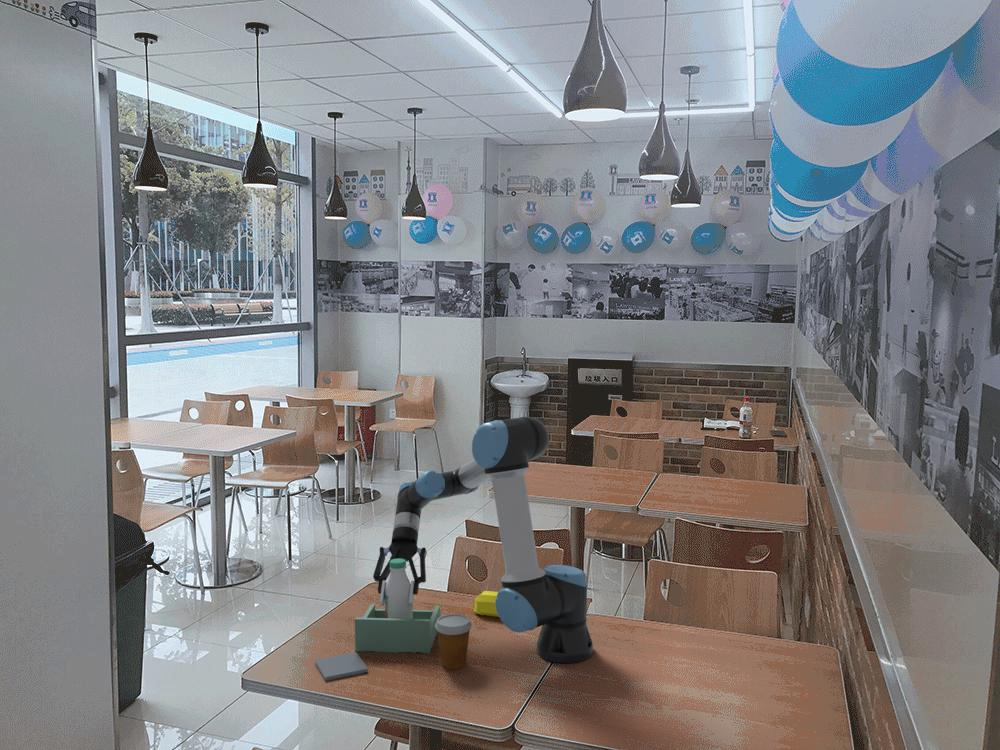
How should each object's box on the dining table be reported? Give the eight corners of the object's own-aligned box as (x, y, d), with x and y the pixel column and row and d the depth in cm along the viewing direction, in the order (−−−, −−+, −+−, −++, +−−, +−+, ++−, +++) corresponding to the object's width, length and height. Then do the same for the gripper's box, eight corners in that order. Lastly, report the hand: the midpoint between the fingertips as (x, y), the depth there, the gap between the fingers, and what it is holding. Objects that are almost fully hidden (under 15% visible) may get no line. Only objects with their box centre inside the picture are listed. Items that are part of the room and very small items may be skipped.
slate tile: (368, 672, 213) (367, 668, 213) (325, 681, 209) (325, 677, 208) (356, 655, 223) (356, 652, 223) (315, 663, 218) (315, 659, 218)
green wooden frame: (372, 621, 246) (371, 592, 245) (440, 623, 245) (440, 593, 244) (355, 651, 226) (354, 619, 225) (429, 653, 224) (429, 621, 223)
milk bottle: (417, 626, 237) (416, 558, 235) (403, 636, 230) (402, 566, 228) (394, 622, 240) (393, 554, 239) (380, 632, 233) (378, 562, 232)
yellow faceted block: (522, 625, 244) (532, 615, 251) (521, 603, 243) (532, 594, 250) (467, 615, 252) (479, 606, 258) (467, 593, 251) (478, 585, 258)
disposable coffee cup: (455, 676, 211) (455, 630, 210) (428, 666, 217) (427, 621, 216) (479, 662, 219) (479, 618, 217) (451, 653, 224) (451, 610, 223)
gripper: (441, 537, 248) (434, 610, 233) (374, 537, 249) (362, 609, 235) (438, 525, 242) (430, 599, 227) (369, 524, 243) (357, 598, 229)
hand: (396, 604), depth 231 cm, fingers closed on milk bottle, 7 cm apart
